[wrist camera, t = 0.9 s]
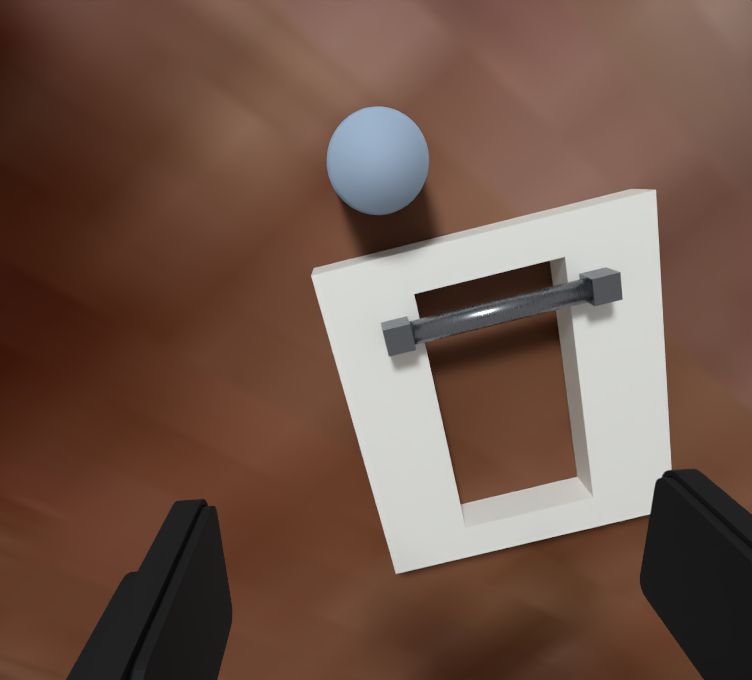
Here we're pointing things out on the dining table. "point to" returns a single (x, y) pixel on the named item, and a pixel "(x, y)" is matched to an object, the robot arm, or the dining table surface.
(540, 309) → the dark gray bar handle
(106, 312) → the dining table surface
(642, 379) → the white frame with handle
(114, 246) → the dining table surface
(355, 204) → the stacked blue discs
